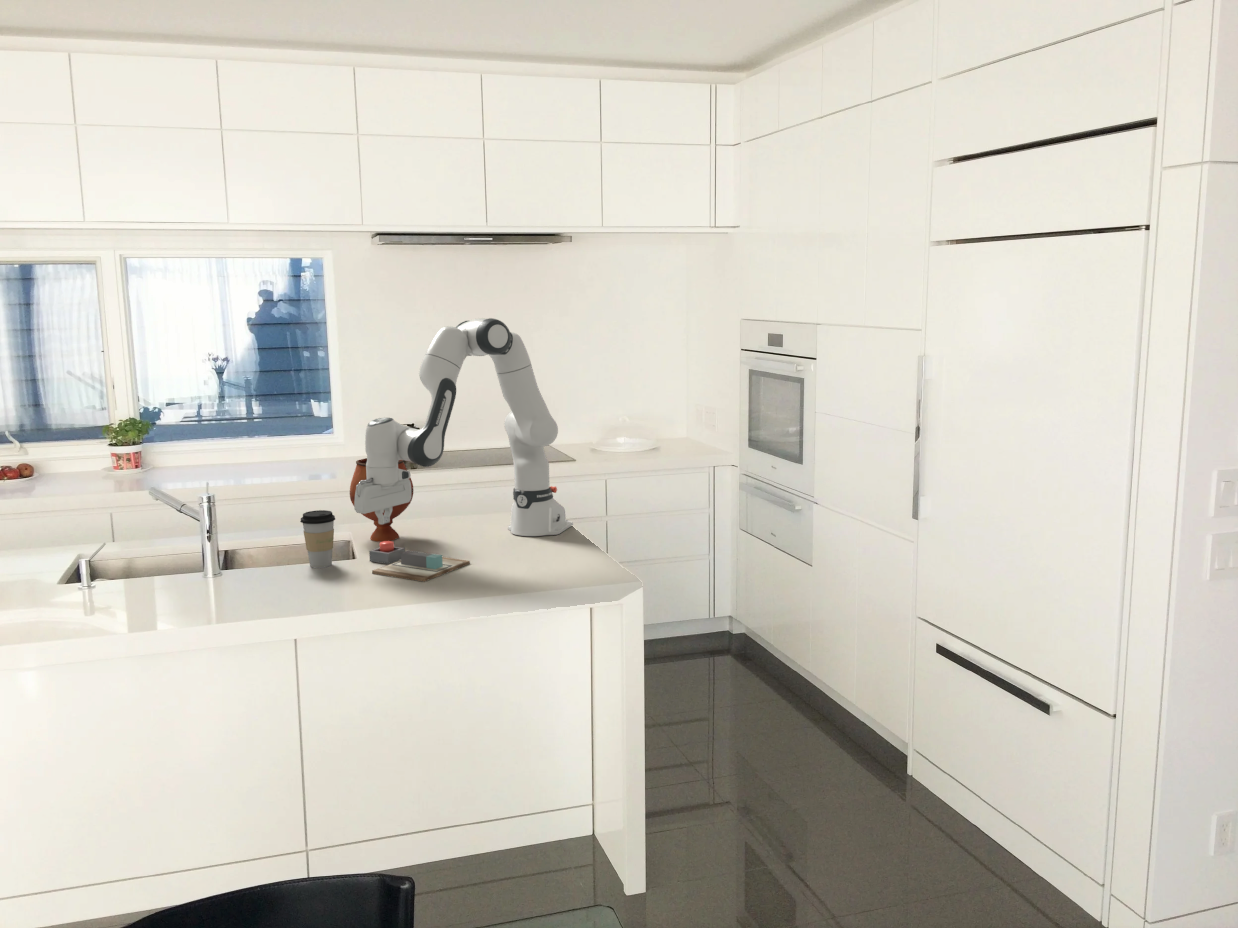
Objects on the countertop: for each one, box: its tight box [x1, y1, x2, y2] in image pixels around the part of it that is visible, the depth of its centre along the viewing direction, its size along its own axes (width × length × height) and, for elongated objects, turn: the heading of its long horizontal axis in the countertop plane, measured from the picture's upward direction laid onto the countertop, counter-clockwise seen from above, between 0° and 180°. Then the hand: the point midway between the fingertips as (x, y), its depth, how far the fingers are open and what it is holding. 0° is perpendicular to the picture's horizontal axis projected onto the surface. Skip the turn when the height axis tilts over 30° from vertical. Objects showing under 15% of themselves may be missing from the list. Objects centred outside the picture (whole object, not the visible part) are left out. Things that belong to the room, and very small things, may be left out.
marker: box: [401, 549, 443, 569], centre depth 279 cm, size 12×3×3 cm, turn 62°
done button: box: [379, 540, 395, 553], centre depth 288 cm, size 4×4×3 cm
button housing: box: [368, 546, 406, 565], centre depth 289 cm, size 7×7×3 cm
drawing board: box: [371, 556, 471, 583], centre depth 279 cm, size 20×18×1 cm
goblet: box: [349, 457, 414, 543], centre depth 312 cm, size 19×19×25 cm
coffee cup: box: [300, 509, 336, 569], centre depth 282 cm, size 9×9×15 cm
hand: (384, 523), depth 287 cm, fingers closed
